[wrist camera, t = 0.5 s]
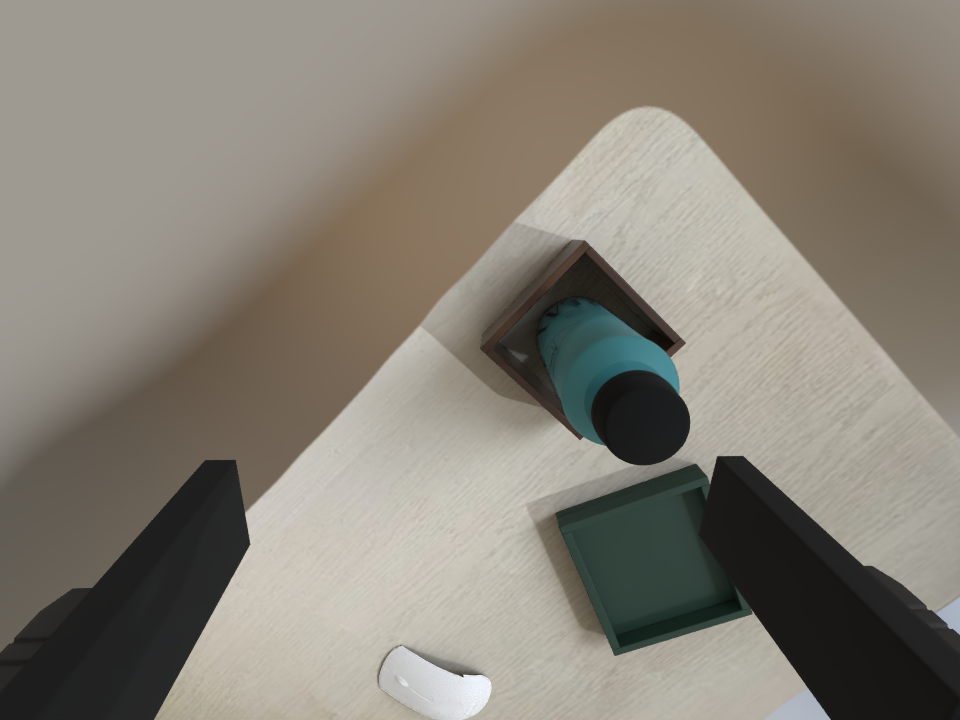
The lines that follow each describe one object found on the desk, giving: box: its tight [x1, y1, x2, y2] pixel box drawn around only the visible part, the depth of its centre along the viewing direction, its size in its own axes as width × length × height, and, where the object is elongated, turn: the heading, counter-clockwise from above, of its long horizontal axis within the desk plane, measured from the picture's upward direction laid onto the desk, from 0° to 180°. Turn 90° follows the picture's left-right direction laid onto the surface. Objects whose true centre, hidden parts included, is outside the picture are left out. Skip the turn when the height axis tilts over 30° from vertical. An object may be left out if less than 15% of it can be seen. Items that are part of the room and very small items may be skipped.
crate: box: [480, 240, 686, 440], centre depth 37 cm, size 11×11×5 cm
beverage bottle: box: [536, 296, 690, 465], centre depth 30 cm, size 6×7×20 cm
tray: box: [556, 464, 753, 656], centre depth 44 cm, size 16×14×2 cm
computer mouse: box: [379, 646, 491, 720], centre depth 49 cm, size 7×12×2 cm, turn 68°
